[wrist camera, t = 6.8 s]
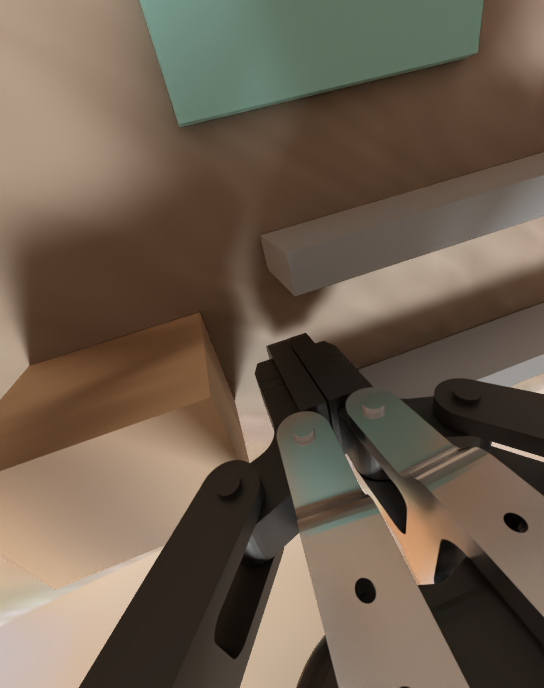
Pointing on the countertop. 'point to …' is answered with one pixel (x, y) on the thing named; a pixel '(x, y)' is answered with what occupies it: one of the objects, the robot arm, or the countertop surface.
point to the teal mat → (297, 47)
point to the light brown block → (111, 449)
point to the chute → (416, 240)
